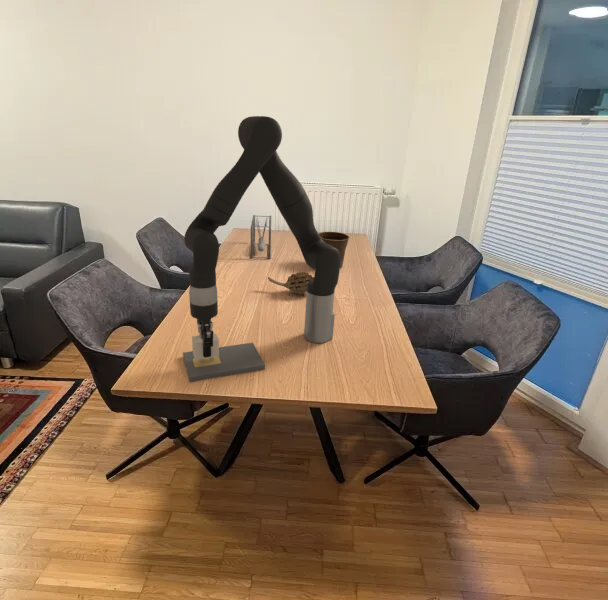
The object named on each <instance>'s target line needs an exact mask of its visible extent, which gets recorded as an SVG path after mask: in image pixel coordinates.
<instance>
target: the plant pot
mask: <svg viewBox="0 0 608 600" xmlns="http://www.w3.org/2000/svg"><path fill="white" fill-rule="evenodd" d="M318 234H319V236H320V237H321V239H322V240H323V241H324V242H325V243H326V244H328V245H331V246H333V247H335V248H336V249H337V250H338V251H339V253H340V257H341V263H340V269H341V268H343V265H344V259H345V254H346V250H347V246H348V242H349V240H350V236H349V235H348V234H346V233H344V232H340V231H339V232H337V231H323V232H319V233H318Z"/></svg>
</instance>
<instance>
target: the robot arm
mask: <svg viewBox="0 0 608 600" xmlns="http://www.w3.org/2000/svg"><path fill="white" fill-rule="evenodd" d="M237 136H238V141H239V143H240V146H241V148H243V151H242V154H241V155H240V157H239V158H238V160H237V161H236V163H235V164H234V165H233V167H232V168H231V169H230V170H229V171H228V172H227V173H226V174H225V175H224V177H223V178H222V179H221V180H220V181H219V182H218V184H217V185H216V187H215V188H214V189H213V191H212V193H211V194H210V197H209V198H208V199H207V202H206V203H205V206H204V208H203V209H202V210H201V211H200V212H199V213H198V214H197V216H196V217H195V218H194V219H193V220H192V221H191V223H190V224H189V225H188V226H187V228H186V231H185V233H184V238H183V241H184V245H185V246H186V248H187V249H188V250H190V251H191V252H192V255H193V257H192V259H193V262H192V263H191V264H190V265H189V269H188V275H189V291H188V292H189V312H190V315H191V317H192V318H193V319H196V324H197V333H198V336H200V338H201V339H202V345H203V356H204V357H210V356H211V347H213V334H215V333H214V331H213V328H214V324H213V321H212V319H213V318H215V317H217V315H218V313H219V309H218V308H219V307H218V305H219V304H218V303H219V302H218V300H219V299H218V287H217V273H216V269H217V265H218V259H219V256H220V255H219V254H220V244H219V239H218V238H217V235H215V233H216V231H217V229H218V228H219V227H223V226H226V225H228V222H229V221H230V219H231V217H232V216H233V214H234V212H235V210H236V208H237V206H238V205H239V203H240V201H241V200H242V198H243V196H244V195H245V194H246V191H247V190H248V189H249V187H250V185H251V184H252V182H253V181H254V180H255V179H256V177H257V176H258V175H259V174H260V176H261V178H262V179H263V181H264V184H265V187H266V188H267V189H268V192H269V194H270V196H271V198H272V199H273V201H274V203H275V205H276V207H277V209H278V211H279V213H280V215H281V216H282V218H283V219H284V221H285V222H286V224H287V226H288V228H289V230H290V232H291V233H292V235H293V236H294V238H295V240H296V241H297V242H296V243H297V244H298V247H299V248H300V252H301V254H302V257H303V260H304V261H305V263H306V264H307V266H308V267H310V268H311V269H312V270H314V276H313V277H314V279H312V280H310V281H309V282H308V283H307V292H306V293H305V294H306V295H305V297H306V298H305V299H306V300H305V312H304V314H305V315H304V329H303V338H304V339H305V340H307V341H308V342H310V343H313V344H322V343H327V342H329V341H330V340H333V338H334V326H335V319H336V318H335V317H336V313H334V302H335V301H334V300H335V290H336V288H337V285H338V283H339V277H340V269H341V268H340V263H341V257H340V253H339V251H338V250H337V249H336V248H335V247H333V246H331V245H328V244H326V243H325V242H324V241H323V240H322V239H321V237H320V236H319V233H318V231H317V228H316V226H315V223H314V211H313V205H312V203H311V201H310V199H309V196H308V194H307V192H306V190H305V188H304V187H303V185H302V183H301V182H300V181H299V179H298V178H297V177H296V176H295V174H294V173H292V171H291V170H290V169H289V168H288V167H287V166H286V165H285V163H284V162H283V160H282V159H281V156H279V153H278V152H277V150H278V148H279V147H280V145H281V142H282V140H283V132H282V127H281V125H280V124H279V122H278V121H277V120H276V119H274V118H273V117H270V116H265V115H260V116H259V115H253V116H247V117H245V118H243V119H242V120H241V122H240V123H239V126H238V129H237Z"/></svg>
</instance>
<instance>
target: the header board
mask: <svg viewBox="0 0 608 600" xmlns="http://www.w3.org/2000/svg"><path fill="white" fill-rule="evenodd" d="M182 355H183V361H184V365H185V369H186V374H187V377H188V383H193V382H198V381H203V380H211V379H217V378H223V377H227V376H234V375H239V374H245V373H252V372H256V371H257V372H258V371H262V370H266V364H265V362H264V360H263V358H262V357H261V355H260V352H259V351H258V350H257V348H256V346H255V344H254V342H248V343H239V344H234V345H227V346H219V356H218V357H211V358H204V359H197V360H195V359H194V355H193V350H192V351H191V350H190V351H184V352H182Z"/></svg>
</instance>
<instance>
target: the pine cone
mask: <svg viewBox="0 0 608 600" xmlns="http://www.w3.org/2000/svg"><path fill="white" fill-rule="evenodd" d="M312 279H314V276H312V274H310V273H309V272H306V271H302V270H301V271H299V272H296V273H292V274H291V275H289V276H288V277H287V281H286V282H280V281H277V280H275V279H273V278H272V277H269V276H267V280H268V281H269V282H271V283H273V284H275V285H278V286H281V287H285V288H286V289H288V290H289V293H290V294H299V295H300V294H303V295H304V294H306V293H307V283H308V282H309V281H310V280H312Z"/></svg>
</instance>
